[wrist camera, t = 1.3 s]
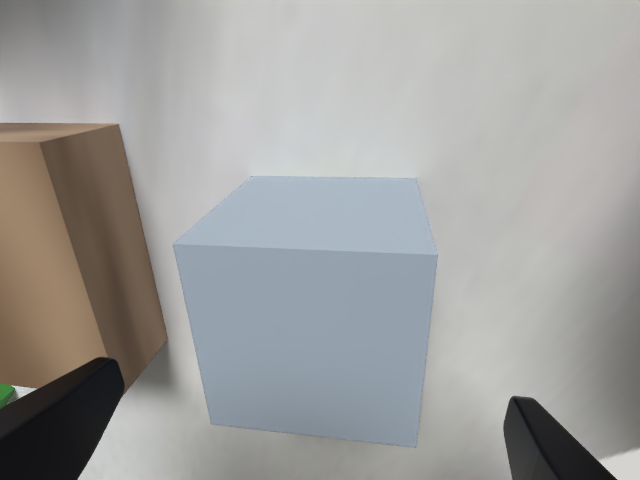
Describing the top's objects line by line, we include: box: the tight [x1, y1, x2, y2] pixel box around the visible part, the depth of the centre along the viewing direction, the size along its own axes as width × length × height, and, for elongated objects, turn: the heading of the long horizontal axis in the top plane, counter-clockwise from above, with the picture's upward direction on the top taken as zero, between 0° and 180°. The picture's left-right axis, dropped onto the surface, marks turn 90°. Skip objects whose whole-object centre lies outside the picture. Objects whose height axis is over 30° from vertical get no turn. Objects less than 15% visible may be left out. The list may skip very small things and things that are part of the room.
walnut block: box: [0, 123, 168, 398], centre depth 15 cm, size 10×10×4 cm
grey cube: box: [173, 176, 438, 448], centre depth 12 cm, size 6×6×6 cm
